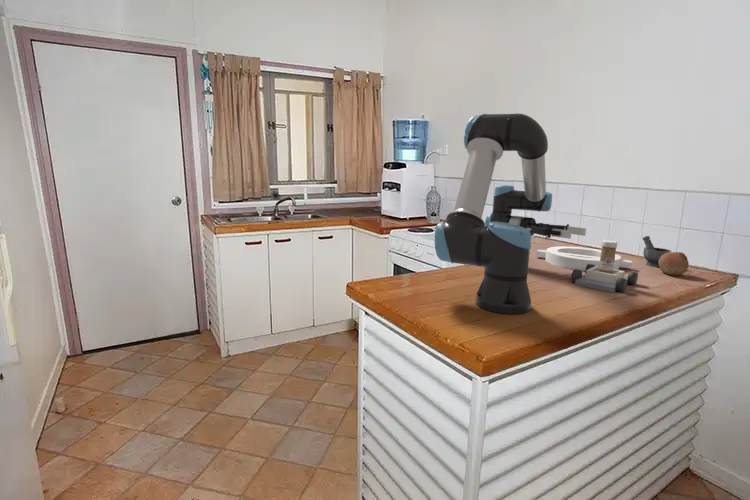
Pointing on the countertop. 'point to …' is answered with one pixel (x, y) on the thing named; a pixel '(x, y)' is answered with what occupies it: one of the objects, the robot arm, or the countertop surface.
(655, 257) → the mortar and pestle
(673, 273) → the brown round lump
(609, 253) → the spice jar
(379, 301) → the countertop surface
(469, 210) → the robot arm
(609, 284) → the toy chassis
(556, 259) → the white circle with bar
